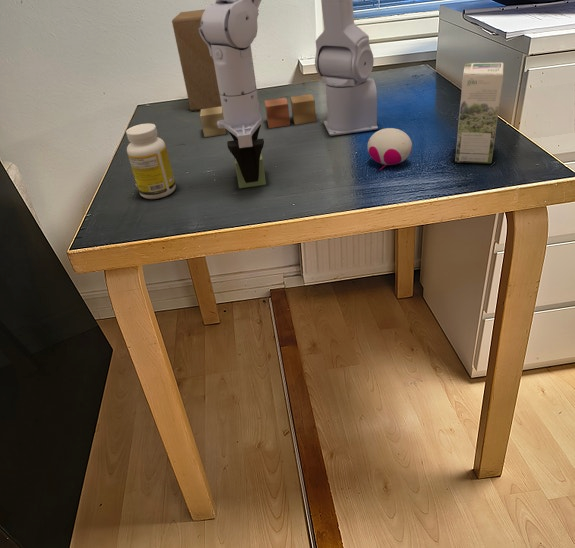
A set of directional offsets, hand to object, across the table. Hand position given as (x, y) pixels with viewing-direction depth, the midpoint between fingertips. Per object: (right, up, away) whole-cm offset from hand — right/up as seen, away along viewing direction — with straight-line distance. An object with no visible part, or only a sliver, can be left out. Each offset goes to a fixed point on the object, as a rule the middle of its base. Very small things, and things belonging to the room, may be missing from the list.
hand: (250, 173), depth 87 cm
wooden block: (-12, +25, +40) cm, 49 cm away
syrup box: (+37, +2, -1) cm, 37 cm away
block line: (0, +15, +23) cm, 27 cm away
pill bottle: (-16, -3, +1) cm, 16 cm away
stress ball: (+23, +2, +1) cm, 23 cm away
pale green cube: (0, -1, +1) cm, 1 cm away
